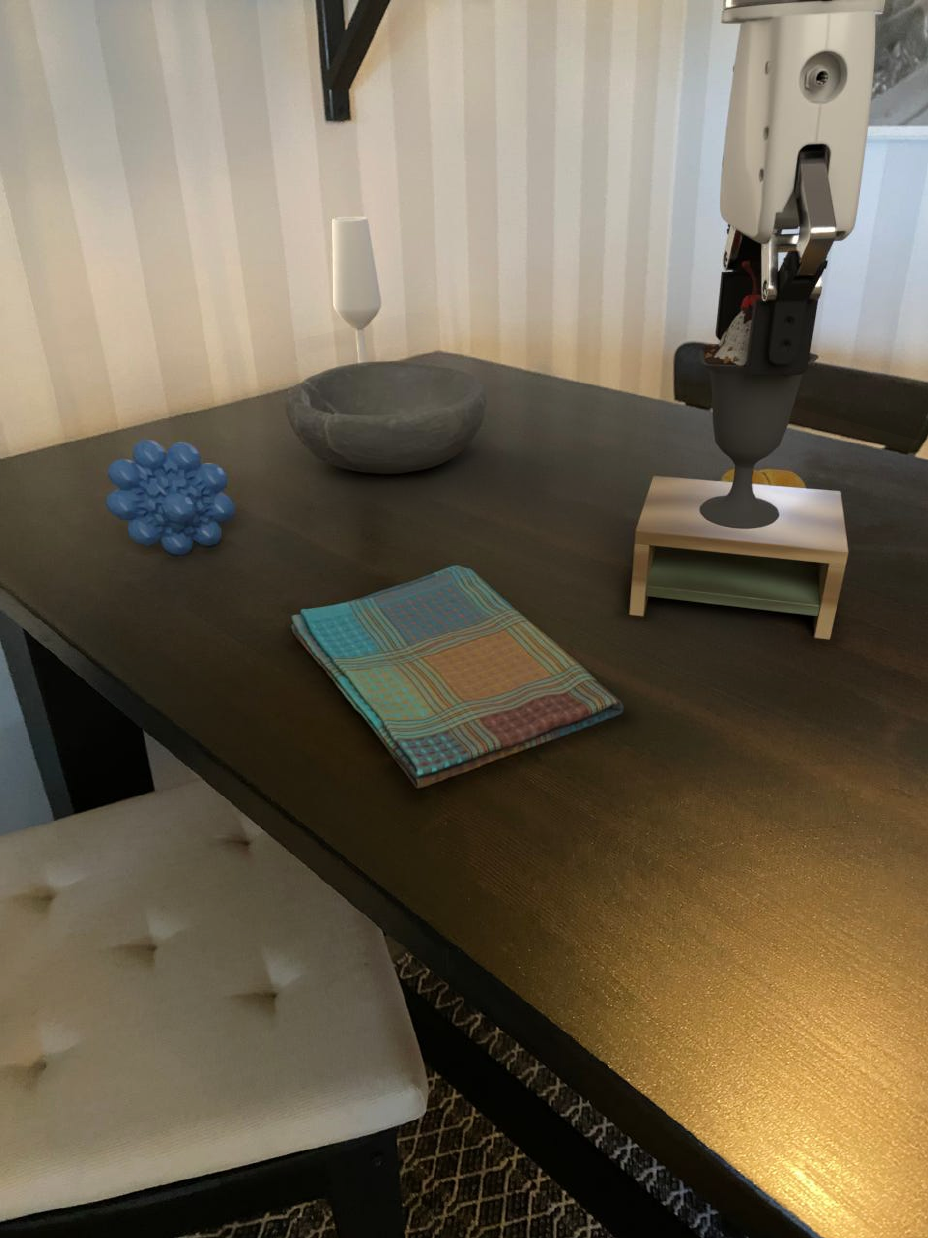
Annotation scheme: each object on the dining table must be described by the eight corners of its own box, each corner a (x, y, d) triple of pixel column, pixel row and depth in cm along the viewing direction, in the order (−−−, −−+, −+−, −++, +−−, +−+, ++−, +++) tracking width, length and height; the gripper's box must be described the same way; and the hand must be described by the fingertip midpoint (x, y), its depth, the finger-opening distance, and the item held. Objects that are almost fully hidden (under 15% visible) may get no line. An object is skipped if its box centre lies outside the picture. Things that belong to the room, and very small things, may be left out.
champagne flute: (369, 405, 128) (353, 223, 116) (332, 398, 131) (314, 220, 119) (397, 393, 133) (385, 216, 121) (361, 386, 136) (346, 214, 124)
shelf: (829, 641, 72) (848, 551, 68) (629, 616, 76) (635, 530, 72) (824, 572, 82) (840, 490, 78) (646, 554, 86) (653, 475, 82)
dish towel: (469, 582, 82) (468, 557, 81) (628, 715, 64) (631, 686, 63) (290, 634, 75) (286, 608, 74) (412, 799, 57) (410, 769, 56)
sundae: (707, 485, 62) (730, 252, 54) (806, 504, 58) (846, 258, 51) (667, 520, 57) (687, 271, 49) (773, 543, 54) (812, 279, 46)
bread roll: (813, 520, 91) (820, 484, 89) (724, 520, 92) (728, 484, 90) (793, 488, 98) (799, 453, 96) (710, 488, 99) (714, 454, 97)
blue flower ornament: (131, 587, 83) (101, 464, 77) (117, 558, 88) (88, 441, 82) (253, 557, 88) (234, 439, 82) (233, 531, 93) (214, 418, 87)
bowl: (449, 513, 95) (445, 421, 90) (262, 492, 102) (248, 405, 97) (510, 440, 114) (510, 361, 109) (348, 426, 121) (341, 351, 115)
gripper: (966, -42, 36) (878, 399, 45) (825, -7, 51) (780, 318, 60) (775, -32, 36) (727, 404, 45) (690, 0, 51) (667, 323, 60)
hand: (758, 352), depth 53 cm, fingers closed on sundae, 6 cm apart
